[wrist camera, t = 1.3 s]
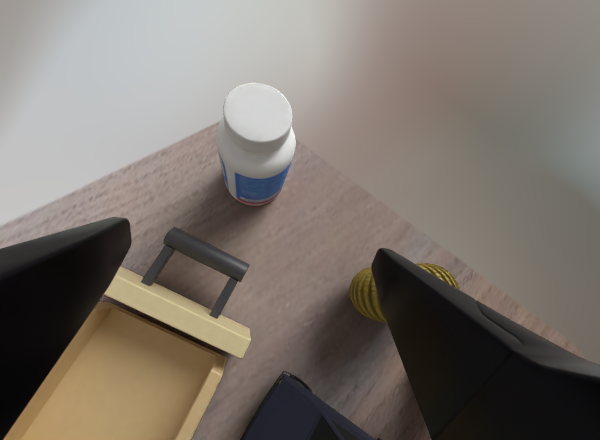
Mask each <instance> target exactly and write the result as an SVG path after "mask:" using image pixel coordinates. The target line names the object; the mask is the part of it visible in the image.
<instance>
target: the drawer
mask: <svg viewBox="0 0 600 440" xmlns="http://www.w3.org/2000/svg"><path fill="white" fill-rule="evenodd" d="M164 244H165V246H164V248H163V249H162V251H161V252H160V254H159V255H158V257H157V258H156V260H155V261H154V263H153V264H152V266H151V267H150V269H149V270H148V272H147V273H146V275H145V276H144V277H142V276H140V275H138V274H136V273H134V272H132V271H130V270H127V269H125V268H123V267H119V269H118V271H117V273H116V275H115V277H114V279H113V281H112V282H111V284H110V286H109V287H108V289H107V290H106V292H105V293H104V295H106V296H108V297H110V298H112V299H115V300H117V301H119V302H121V303H123V304H125V305H127V306H129V307H131V308H134V309H136V310H138V311H140V312H142V313H144V314H146V315H148V316H151V317H153V318H155V319H157V320H159V321H161V322H163V323H165V324H168V325H170V326H172V327H174V328H176V329H178V330H180V331H182V332H185V333H187V334H189V335H191V336H193V337H195V338H197V339H199V340H201V341H204V342H206V343H208V344H210V345H212V346H214V347H216V348H218V349H221V350H223V351H225V352H227V353H229V354H231V355H233V356H235V357H238V358H240V359H242V358H243V356H244V354H245V352H246V350H247V348H248V346H249V344H250V342H251V337H250V329H249V328H247V327H245V326H243V325H241V324H239V323H237V322H235V321H233V320H231V319H229V318H227V317H225V316H223V315H220V313H221V311H222V310H223V308H224V306H225V304H226V302H227V300H228V299H229V297H230V295H231V293H232V291H233V289H234V287H235V286H236V284H237V282H238V281H239V282H241V280H242V279H243V277H244V275H245V273H246V271H247V269H248V267H249V264H247V263H245V262H243V261H241V260H239V259H238V258H236V257H234V256H232V255H230V254H228V253H226V252H224V251H222V250H220V249H218V248H216V247H214V246H212V245H210V244H208V243H206V242H204V241H202V240H200V239H198V238H196V237H194V236H192V235H190V234H188V233H186V232H184V231H182V230H180V229H178V228H176V227H173V228H172V229H171V230H170V231H169V232H168V233H167V235H166V236H165V239H164ZM175 250H177V251H179V252H181V253H183V254H185V255H187V256H189V257H191V258H193V259H195V260H197V261H199V262H201V263H203V264H205V265H207V266H209V267H211V268H213V269H215V270H217V271H219V272H221V273H223V274H225V275H227V276H229V277H231V278H230V279H229V280H228V282H227V284H226V286H225V288H224V289H223V291H222V293H221V295H220V297H219V298H218V300H217V302H216V304H215V306H214V307H213V309H212V310H210V309H208V308H206V307H204V306H202V305H200V304H198V303H196V302H194V301H192V300H189V299H187V298H185V297H183V296H181V295H179V294H177V293H175V292H173V291H171V290H169V289H167V288H165V287H163V286H161V285H158V284H156V283H154V281H155V280H156V278H157V277H158V275H159V274H160V272H161V271H162V269H163V268H164V266H165V265H166V263H167V262H168V260H169V258H170V257H171V255H172V254H173V252H174V251H175ZM225 363H226V357H225V356H223V355H220V354H218V353H216V352H214V351H212V350H210V349H208V348H205V347H203V346H201V345H199V344H197V343H195V342H193V341H191V340H188V339H186V338H184V337H182V336H180V335H178V334H176V333H174V332H171V331H169V330H167V329H165V328H163V327H161V326H159V325H156V324H154V323H152V322H150V321H148V320H146V319H144V318H142V317H139V316H137V315H135V314H133V313H131V312H129V311H127V310H125V309H122V308H120V307H118V306H116V305H114V304H112V303H110V302H100V303H97V305H96V306H95V308H94V309H93V311H92V312H91V314H90V315H89V316H88V318H87V319H86V321H85V322H84V324H83V325H82V327H81V328H80V329H79V331H78V332H77V334H76V335H75V337H74V338H73V340H72V341H71V342H70V344H69V345H68V347H67V348H66V350H65V351H64V353H63V354H62V356H61V357H60V358H59V360H58V361H57V363H56V364H55V366H54V367H53V369H52V370H51V371H50V373H49V374H48V376H47V377H46V379H45V380H44V382H43V383H42V384H41V386H40V387H39V389H38V390H37V392H36V393H35V395H34V396H33V398H32V399H31V400H30V402H29V403H28V405H27V406H26V408H25V409H24V411H23V412H22V413H21V415H20V416H19V418H18V419H17V421H16V422H15V424H14V425H13V426H12V428H11V429H10V431H9V432H8V434H7V435H6V437H5V438H4V440H191V438H192V436H193V434H194V432H195V430H196V428H197V426H198V424H199V422H200V420H201V418H202V416H203V414H204V412H205V410H206V408H207V406H208V404H209V402H210V400H211V398H212V396H213V394H214V392H215V390H216V388H217V386H218V384H219V382H220V380H221V378H222V376H223V372H224V367H225Z"/></svg>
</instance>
